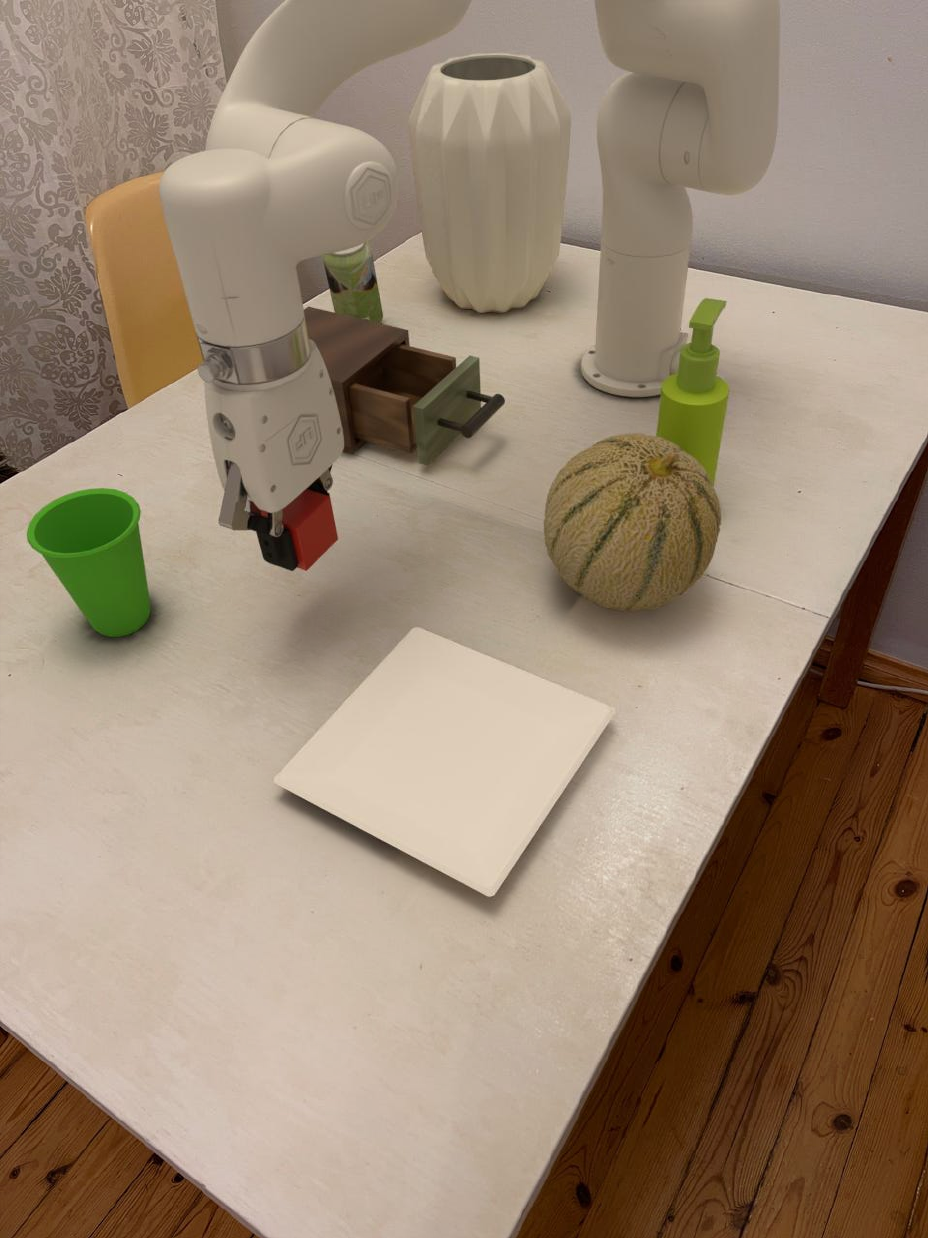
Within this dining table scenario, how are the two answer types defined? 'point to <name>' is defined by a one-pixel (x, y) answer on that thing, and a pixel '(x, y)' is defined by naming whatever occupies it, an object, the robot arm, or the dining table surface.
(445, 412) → the drawer
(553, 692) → the plate
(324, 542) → the block
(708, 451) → the soap dispenser
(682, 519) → the cantaloupe
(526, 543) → the dining table surface
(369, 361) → the cabinet
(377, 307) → the beverage can
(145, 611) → the cup
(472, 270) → the vase
